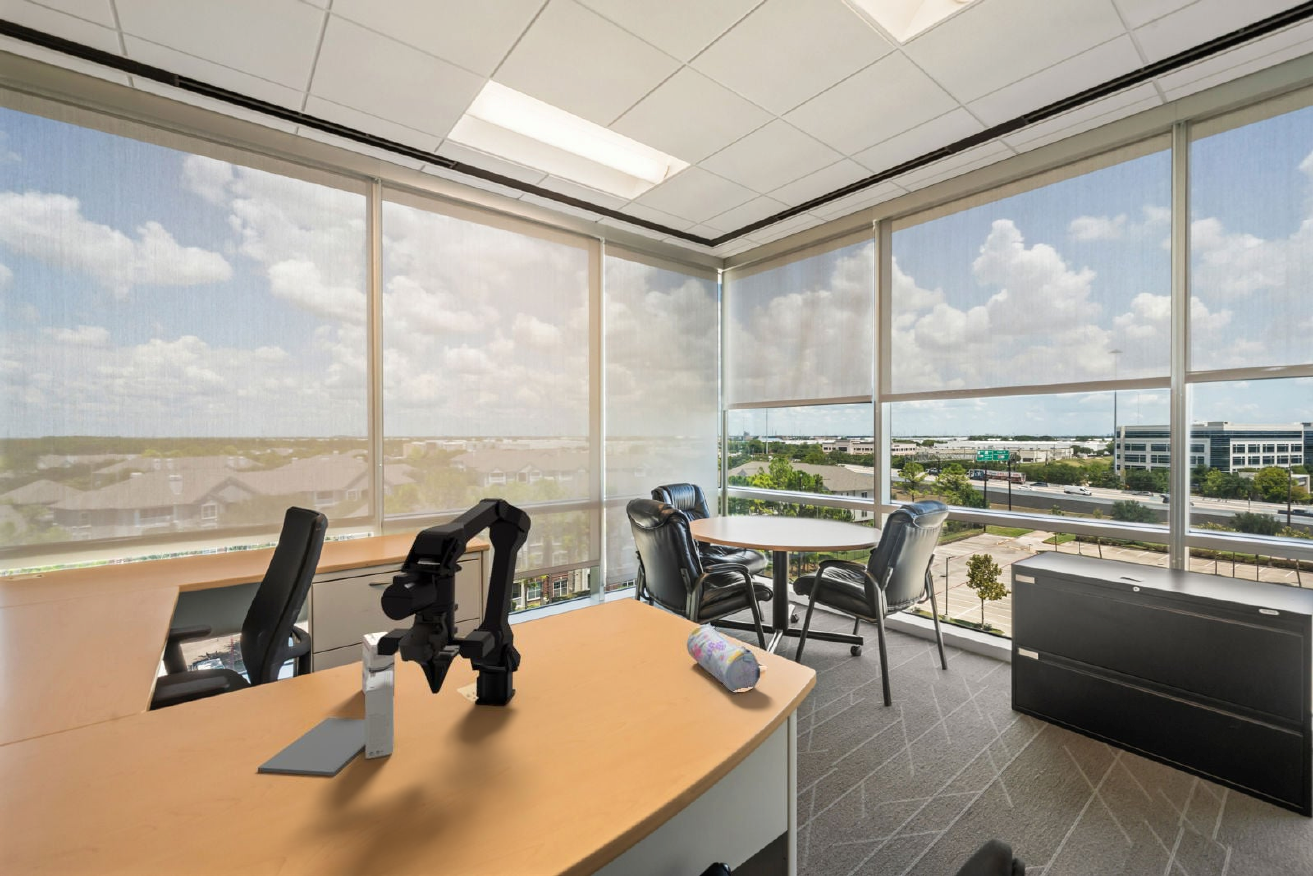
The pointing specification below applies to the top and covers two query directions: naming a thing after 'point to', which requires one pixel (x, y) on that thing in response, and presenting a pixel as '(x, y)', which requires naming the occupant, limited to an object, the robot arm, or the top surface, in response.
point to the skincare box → (379, 714)
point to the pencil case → (723, 658)
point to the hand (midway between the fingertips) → (435, 692)
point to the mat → (321, 749)
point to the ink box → (375, 658)
